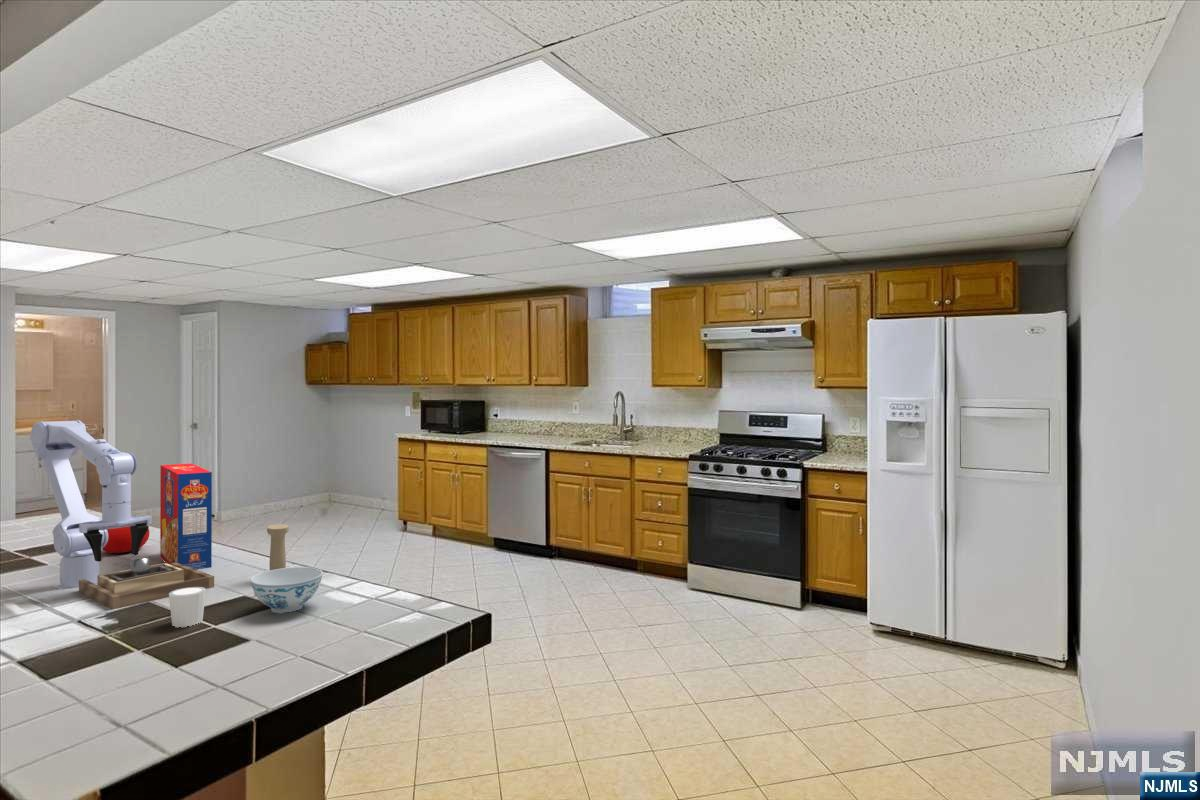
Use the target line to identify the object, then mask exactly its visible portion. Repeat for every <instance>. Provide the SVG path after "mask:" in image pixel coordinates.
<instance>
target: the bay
mask: <svg viewBox="0 0 1200 800" xmlns="http://www.w3.org/2000/svg"><path fill="white" fill-rule="evenodd" d="M171 565H173V566H175V567H178V568H181V569H183V570H184V581H182V582H177V583H173V584H168V585H163V586H158V587H153V588H148V589H144V590H139V591H134V592H129V593H124V594H119V595H117V594H115V593H112V592H110V591H108V590H106V589H104V588H102V587H100V586H98V585H97V583H96V584H94V583H92V582H90V581H88V580H86V579H83V580H79V587H78V592H79V593H81V594H83V595H85V596H86V597H88V598H90V599H92V600H95V601H96V602H98V603H99V604H102V605H104V606H106V607H108V608H109V609H111V610H117V609H122V608H126V607H129V606H135V605H139V604H143V603H149V602H152V601H157V600H162V599H166V598H169V593H170V592H172V591H174V590H177V589H181V588H188V587H203V588H205V589H206V590H207V589H211V588H215V575H212V574H209V573H206V572H203V571H201V570H200V569H197V570H196V569H193V568H190V567H187V566H185V565H182V564H179V563H176V562H175V563H171Z"/></svg>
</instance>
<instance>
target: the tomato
mask: <svg viewBox="0 0 1200 800" xmlns="http://www.w3.org/2000/svg"><path fill="white" fill-rule="evenodd" d="M116 526H118V525H116ZM109 527H110V526H109ZM107 531H108V542H107V544H106V545H105V547H103V548H102V552H104V553H108V554H113V553H117V554H124V553H129V552H131V543H132V539H131V530H130V526H128V527H121V528H114V529H107ZM149 539H150V528H149V529H148V531H147V532H146V534H145V536H144V538H143V540H142V542H141V545H140V548H139V549H141V548H142V547H143V546H144V545H146V543H147V542H148V540H149Z"/></svg>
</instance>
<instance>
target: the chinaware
mask: <svg viewBox="0 0 1200 800" xmlns="http://www.w3.org/2000/svg"><path fill="white" fill-rule="evenodd" d="M322 577H323V571H322V570H321V569H318V568H314V567H309V566H308V567H307V566H297V567H296V566H295V567H294V566H291V567H286V568H282V569H275V570H270V569H269V570H268V571H267V570H266V571H263V572H260V573H258V574H254V575H253V576H252V577H251V579H250V583H251V588H252V590H253V593H254V594H255V597H256V598H257V599H258V600H259V601H260V602H261V603H262V604H263V605H265V606H267V607H269V608H270V610H271V612H272V611H273V612H272V613H274V612H278V613H277V614H284V613H283V612H290V613H292V612H291V611H294V612H296V611H295V610H298V611H300V610H302V609H303V608H302V607H304V604H305V603H306V602H308V601H309V600H310V599H311V598H312V597H313V596H314V595H315V594H316V592H317V590H318V588H319V587H320V584H321V581H322ZM301 608H302V609H301ZM299 609H300V610H299Z"/></svg>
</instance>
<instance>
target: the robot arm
mask: <svg viewBox="0 0 1200 800" xmlns="http://www.w3.org/2000/svg"><path fill="white" fill-rule="evenodd" d="M29 439H30V441H31V445H32V449H33V450H34V453H35V456H36V457H38V458H40V459H41V461H42V463H43V466H44V470H45V472H46V475H47V478H48V482H49V485H50V487H51V490H52V493H53V495H54V496H53V497H54V499H55V502H56V505H57V508H58V511H59V513H60V517H61V520H60V521H59V522H58V523H57V524H56V525H55V526H54V527H53V529H52V535H53V547H54V550H55V552H56V553H58V554H59V556H61V557H62V558H61V559H60V562H59V584H58V585H55V586H54V587H55V589H57V590H62V589H67V588H69V589H70V588H73V589H74V588H79V580H83V579H86V580H88V581H90V582H92V583H94V584H96V585H97V575H100V562H102V552H103V550H102V548H103V547H105V545H106V544H107V542H108V531H107V529H114V528H121V527H128V526H130V530H131V539H132V543H131V551H130V552H131V555H133V556H137V555H139V551H140V549H141V548H140V545H141V542H142V540H143V538H144V536H145V534H146V532H147V531H148V529H149V530H150V528H149V525H152V524H153V517H152V515H141V516H132V475H134V474H135V472H136V471H137V468H138V460H137V458H136V456H135V455H134V453H132V452H131V451H125V452H123V451H122V452H121V451H120V450H119V449H118V448H117V447H114V446H113V445H111V444H110V443H108V441H107V440H106V439H104V438H100V439H95V437H93V436H92V435H91V434H89V432H87V428H86V424H85V423H84V422H82V421H81V420H79V419H74V420H58V421H57V420H56V421H44V420H41V421H40V420H38V421H36V422H34V424H33V425H32V427H31V430H30V437H29ZM79 450H81V451H82V452H81V453H82V456H83V457H84V459H86V460H87V461H88V462H89V463H91V464H92V465H94V466H95V467H96V468H95V469H96V473H97V474H98V479H99V480H98V481H99V484H100V485H101V487H102V489H101V491H102V492H101V509H102V511H101V513H102V514H101V518H100V517H98V516H96V515H94V514H91V513H90V512H88V510H87V508H86V505H85V502H84V499H83V496H82V494H81V491H80V488H79V485H78V483H77V479H76V476H75V473H74V471H73V468H72V466H71V462H70V458H71V457H73V456H75V455H77V454H78V451H79ZM116 525H118V526H116ZM109 526H110V527H109Z"/></svg>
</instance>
